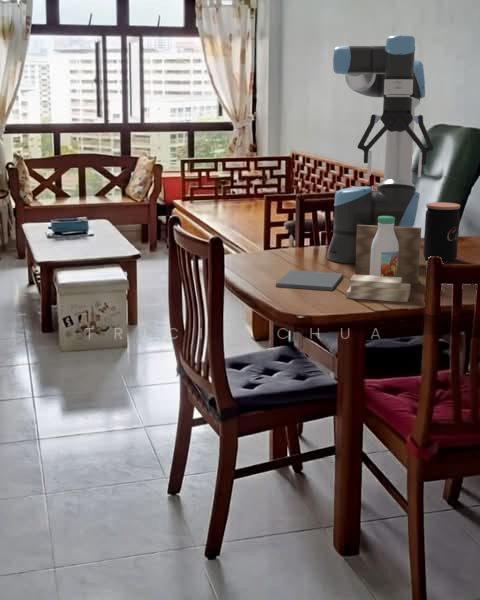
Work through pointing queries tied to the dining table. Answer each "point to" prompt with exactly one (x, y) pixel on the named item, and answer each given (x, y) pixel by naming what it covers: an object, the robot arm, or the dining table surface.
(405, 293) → the offcut rack
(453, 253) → the coffee jar
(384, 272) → the milk bottle
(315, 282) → the charcoal mat
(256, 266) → the dining table surface
